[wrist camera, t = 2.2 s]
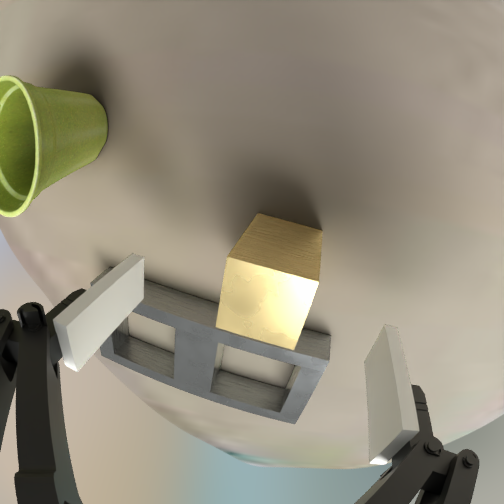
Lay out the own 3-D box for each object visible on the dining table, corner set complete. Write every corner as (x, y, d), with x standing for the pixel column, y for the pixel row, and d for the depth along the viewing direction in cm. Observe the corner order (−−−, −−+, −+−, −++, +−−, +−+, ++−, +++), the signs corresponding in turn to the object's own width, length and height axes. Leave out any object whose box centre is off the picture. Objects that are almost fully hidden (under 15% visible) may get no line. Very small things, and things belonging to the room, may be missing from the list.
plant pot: (56, 188, 24) (-16, 220, 17) (43, 92, 21) (-33, 102, 13) (132, 177, 22) (51, 213, 14) (120, 60, 18) (32, 52, 11)
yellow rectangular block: (257, 213, 21) (227, 256, 15) (322, 230, 21) (318, 282, 14) (246, 269, 23) (215, 326, 17) (305, 286, 23) (293, 349, 16)
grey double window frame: (109, 267, 26) (90, 282, 24) (330, 335, 24) (329, 361, 21) (116, 338, 30) (101, 355, 28) (299, 400, 28) (294, 424, 25)
